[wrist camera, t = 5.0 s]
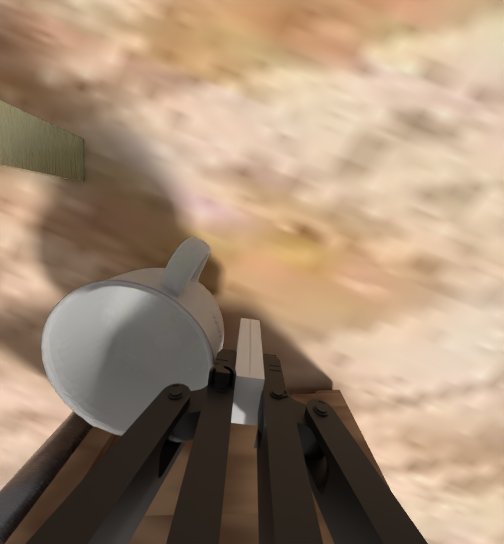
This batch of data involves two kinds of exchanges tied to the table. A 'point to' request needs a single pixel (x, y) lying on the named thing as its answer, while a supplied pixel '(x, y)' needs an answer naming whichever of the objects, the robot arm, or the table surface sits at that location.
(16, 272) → the table surface
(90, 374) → the teacup
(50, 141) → the two posts
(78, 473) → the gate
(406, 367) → the table surface
